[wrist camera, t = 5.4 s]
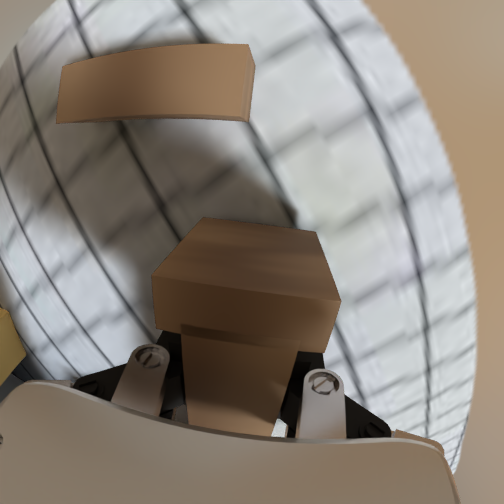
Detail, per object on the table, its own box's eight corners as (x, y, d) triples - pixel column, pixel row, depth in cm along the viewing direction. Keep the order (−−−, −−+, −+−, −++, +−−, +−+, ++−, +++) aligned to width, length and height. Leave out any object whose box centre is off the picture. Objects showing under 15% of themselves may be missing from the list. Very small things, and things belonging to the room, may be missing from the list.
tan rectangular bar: (255, 67, 9) (248, 44, 7) (249, 122, 10) (239, 116, 8) (102, 74, 10) (62, 66, 7) (97, 122, 11) (56, 123, 8)
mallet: (315, 231, 11) (341, 301, 6) (256, 461, 18) (250, 511, 14) (63, 204, 11) (-13, 240, 7) (124, 432, 19) (105, 474, 14)
